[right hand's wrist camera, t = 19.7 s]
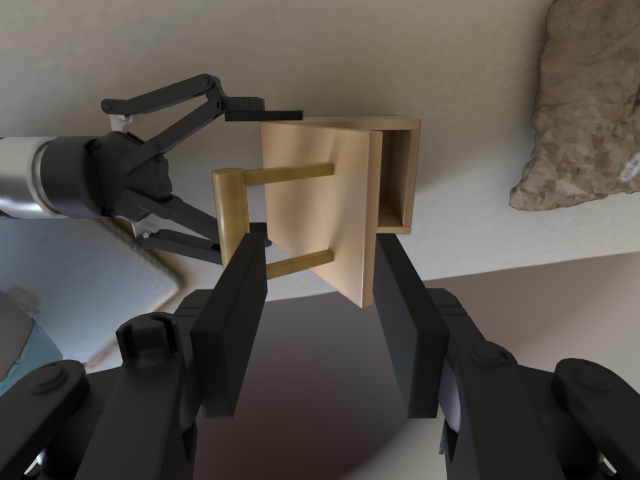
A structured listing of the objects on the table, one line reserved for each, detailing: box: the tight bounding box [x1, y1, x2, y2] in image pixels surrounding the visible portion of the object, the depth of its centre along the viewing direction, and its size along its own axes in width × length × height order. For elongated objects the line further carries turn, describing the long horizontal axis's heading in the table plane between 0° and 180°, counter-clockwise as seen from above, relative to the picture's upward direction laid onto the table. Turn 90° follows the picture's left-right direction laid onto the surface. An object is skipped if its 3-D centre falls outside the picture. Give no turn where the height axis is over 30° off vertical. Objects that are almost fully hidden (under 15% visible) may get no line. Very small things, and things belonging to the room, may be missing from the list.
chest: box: [266, 116, 421, 235], centre depth 35 cm, size 13×10×10 cm
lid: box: [212, 121, 383, 308], centre depth 23 cm, size 14×10×8 cm
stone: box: [509, 0, 640, 211], centre depth 35 cm, size 21×15×6 cm
